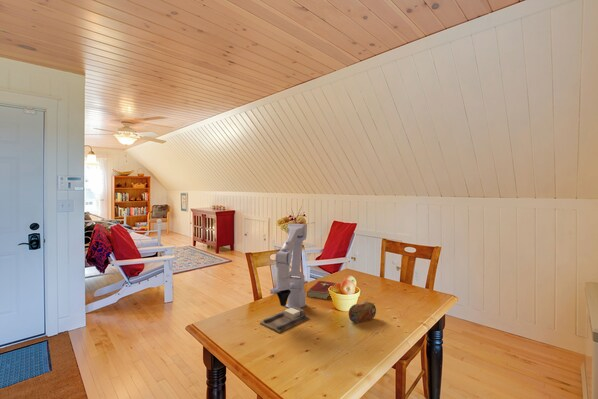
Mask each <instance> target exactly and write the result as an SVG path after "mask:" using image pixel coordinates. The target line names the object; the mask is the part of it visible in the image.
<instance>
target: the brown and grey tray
mask: <svg viewBox="0 0 598 399" xmlns="http://www.w3.org/2000/svg"><path fill="white" fill-rule="evenodd" d="M290 308H294V309H296V310H299V311H300V316H298V317H296V318H294V319H290V318H288V317H285V316H284V310H283V311H280V312H279V313H276V314H274V315H272V316H269V317H267V318H264V319H263V320H261V321H259V324H260V325H262V326H264V327H265V328H268V329H270V330H271V331H274V332H276V333H278V334H281V333H283V332H285V331H287V330H289V329H291V328H293V327H295V326H297V325H299V324H301V323H303V322H305V321H308V320H310V317H309V316H308V315H307V314H306V313H305V309H302V308H297V307H295V306H290Z"/></svg>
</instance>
